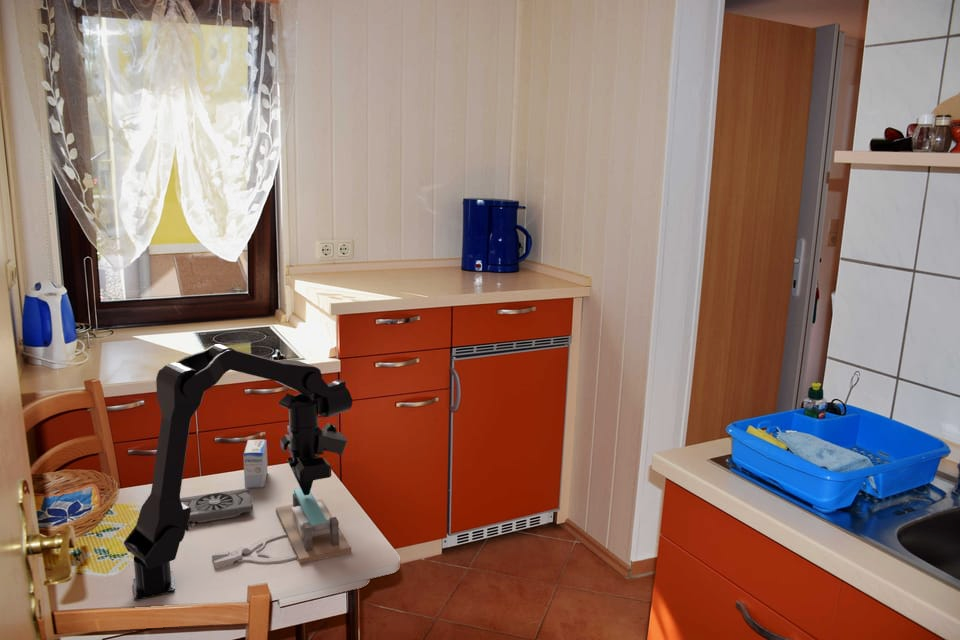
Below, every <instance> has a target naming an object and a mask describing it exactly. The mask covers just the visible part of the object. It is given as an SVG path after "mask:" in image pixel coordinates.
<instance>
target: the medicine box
mask: <svg viewBox="0 0 960 640" xmlns="http://www.w3.org/2000/svg"><path fill="white" fill-rule="evenodd" d="M267 445H268V444H267V439H248V440H247V442H246V445H245V448H244V450H243V451H244V452H243V472H244V473H243V477H244V479H243V480H244V489H254V487H255V488H264V487H265V485H266V479H267V473H268V447H267Z"/></svg>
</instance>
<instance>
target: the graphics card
mask: <svg viewBox="0 0 960 640" xmlns="http://www.w3.org/2000/svg"><path fill="white" fill-rule="evenodd" d="M249 490H250V488H240V489H234V490H233V489H232V490H227V491H226V490H225V491H220V492H213V493H212V492H211V493H206V494H205V493H204V494H199V495H191V496H186V497H180V500H181V502H182V503H184V504H185V505H187V506H188V507H190V508H191V513H190V517H189V520H188V527H189V526H190V525H191V526H192V527H193V526H197V523H198V524H199V523H205V522H209V521H210V522H212V521H216V520H223V519H229V518H234V517H239V516H240V515H241V514H242V513H249V512H252V511H253V510H254V503H253V502H252V500H253V499H252V496H250V491H249ZM196 522H197V523H196Z"/></svg>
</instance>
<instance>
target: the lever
mask: <svg viewBox="0 0 960 640" xmlns="http://www.w3.org/2000/svg"><path fill="white" fill-rule="evenodd" d="M293 494H295V495H296V497H297V499H298V501H299V503H300V505H301V507H302V509H303V511H304V513H305V515H306V517H307V519H308V521H309V522H310V524H311V526H312V531H313V532H315V531H320V530H325V529H330V524H329V522H327V520H326V518H325V516H324V514H323V513H322V511H321V509H320V507H319V505H318V504H317V502H316V500H317V499H316V498H315V496H314V494H313V493H312V490H310V494H309V495H304V494H303V492H302V490H301V488H300V487H297V488H294V489H293Z"/></svg>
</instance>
